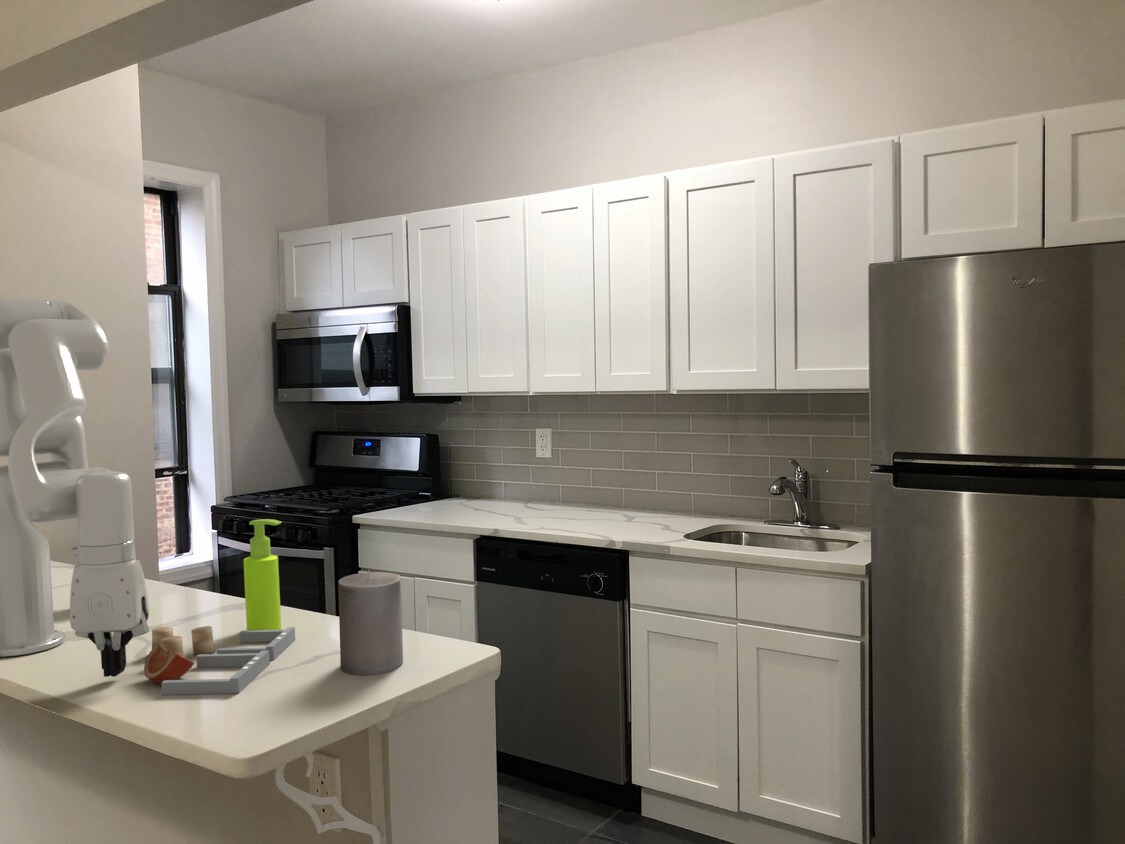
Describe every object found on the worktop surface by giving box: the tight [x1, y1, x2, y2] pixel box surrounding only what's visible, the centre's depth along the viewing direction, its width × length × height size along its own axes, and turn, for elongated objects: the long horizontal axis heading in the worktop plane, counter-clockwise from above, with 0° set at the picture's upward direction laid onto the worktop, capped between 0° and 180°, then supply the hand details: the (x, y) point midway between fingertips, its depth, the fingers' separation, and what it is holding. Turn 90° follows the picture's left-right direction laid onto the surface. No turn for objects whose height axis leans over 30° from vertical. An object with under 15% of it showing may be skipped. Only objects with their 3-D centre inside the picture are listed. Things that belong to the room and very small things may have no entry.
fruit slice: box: [143, 644, 195, 684], centre depth 138 cm, size 8×7×5 cm
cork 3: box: [191, 625, 215, 657], centre depth 151 cm, size 3×3×4 cm
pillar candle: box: [337, 570, 404, 676], centre depth 142 cm, size 10×10×15 cm
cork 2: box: [160, 635, 184, 657], centre depth 146 cm, size 3×3×4 cm
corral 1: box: [161, 650, 271, 696], centre depth 137 cm, size 11×13×2 cm
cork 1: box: [151, 626, 174, 650], centre depth 151 cm, size 3×3×4 cm
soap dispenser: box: [243, 518, 283, 631], centre depth 163 cm, size 6×7×20 cm
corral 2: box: [216, 626, 296, 661], centre depth 151 cm, size 9×11×2 cm
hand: (114, 673), depth 138 cm, fingers closed
